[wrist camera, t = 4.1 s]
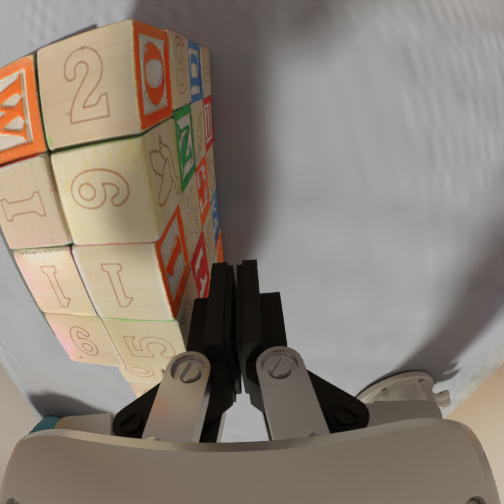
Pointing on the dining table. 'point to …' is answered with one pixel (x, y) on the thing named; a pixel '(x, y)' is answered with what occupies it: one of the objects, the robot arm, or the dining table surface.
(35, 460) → the robot arm
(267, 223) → the dining table surface
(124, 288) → the stack of blocks
